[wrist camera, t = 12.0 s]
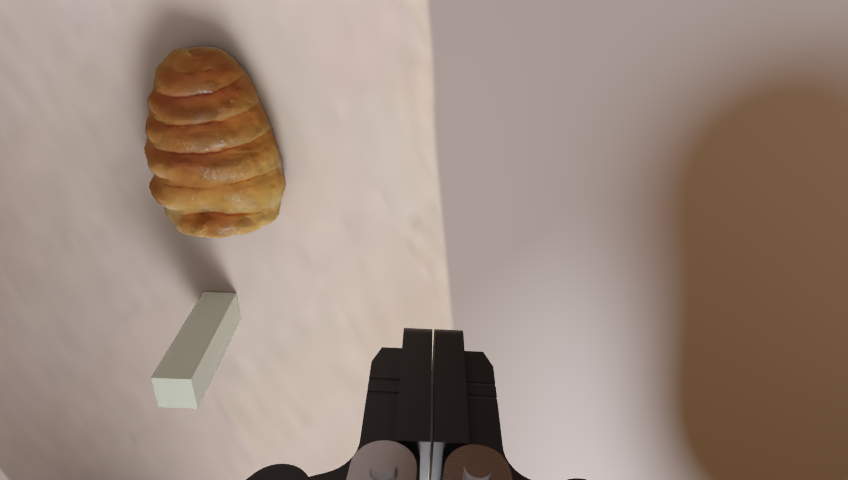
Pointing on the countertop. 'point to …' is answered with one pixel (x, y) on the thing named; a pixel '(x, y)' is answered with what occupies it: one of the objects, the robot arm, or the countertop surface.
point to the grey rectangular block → (196, 351)
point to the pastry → (211, 146)
